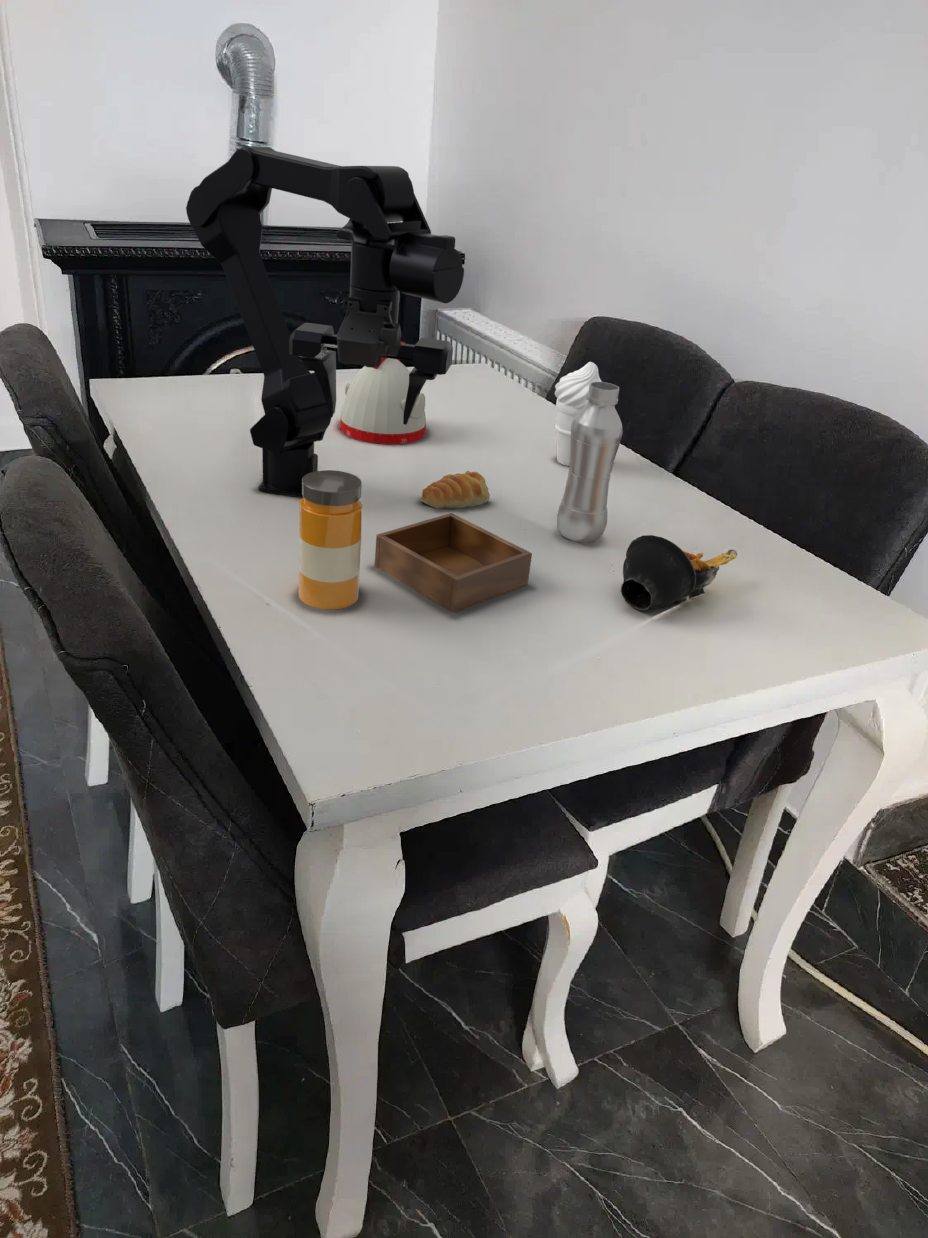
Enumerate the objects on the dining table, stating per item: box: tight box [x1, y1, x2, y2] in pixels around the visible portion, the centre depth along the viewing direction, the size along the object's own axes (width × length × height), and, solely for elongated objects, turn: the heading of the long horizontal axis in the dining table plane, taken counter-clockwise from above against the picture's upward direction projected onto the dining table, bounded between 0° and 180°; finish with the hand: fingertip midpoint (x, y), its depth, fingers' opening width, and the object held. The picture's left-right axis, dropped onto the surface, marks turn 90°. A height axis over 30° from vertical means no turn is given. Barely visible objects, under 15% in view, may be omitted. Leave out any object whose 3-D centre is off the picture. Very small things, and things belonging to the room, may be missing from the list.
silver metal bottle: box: [556, 381, 624, 543], centre depth 116 cm, size 6×7×20 cm
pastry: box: [420, 470, 491, 509], centre depth 126 cm, size 9×7×4 cm
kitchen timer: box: [339, 341, 427, 445], centre depth 147 cm, size 14×14×15 cm
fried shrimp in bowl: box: [620, 534, 738, 612], centre depth 107 cm, size 9×11×18 cm
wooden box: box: [374, 512, 533, 614], centre depth 106 cm, size 13×12×4 cm
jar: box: [298, 469, 364, 610], centre depth 97 cm, size 6×6×14 cm
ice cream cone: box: [554, 361, 603, 467], centre depth 142 cm, size 8×8×16 cm
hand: (368, 418), depth 113 cm, fingers open, 9 cm apart
